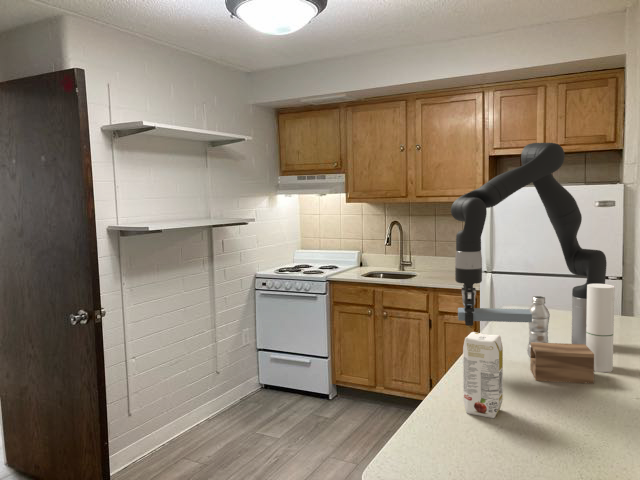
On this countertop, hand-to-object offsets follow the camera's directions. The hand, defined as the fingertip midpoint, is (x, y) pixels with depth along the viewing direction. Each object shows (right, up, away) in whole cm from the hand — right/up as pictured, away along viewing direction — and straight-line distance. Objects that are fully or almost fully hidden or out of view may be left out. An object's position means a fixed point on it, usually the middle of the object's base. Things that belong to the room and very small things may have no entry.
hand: (468, 322), depth 153 cm
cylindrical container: (+40, -14, +3) cm, 42 cm away
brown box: (+26, -15, -3) cm, 30 cm away
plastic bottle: (+26, -14, +12) cm, 32 cm away
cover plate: (+7, +1, -2) cm, 7 cm away
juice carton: (-4, -18, -25) cm, 31 cm away
